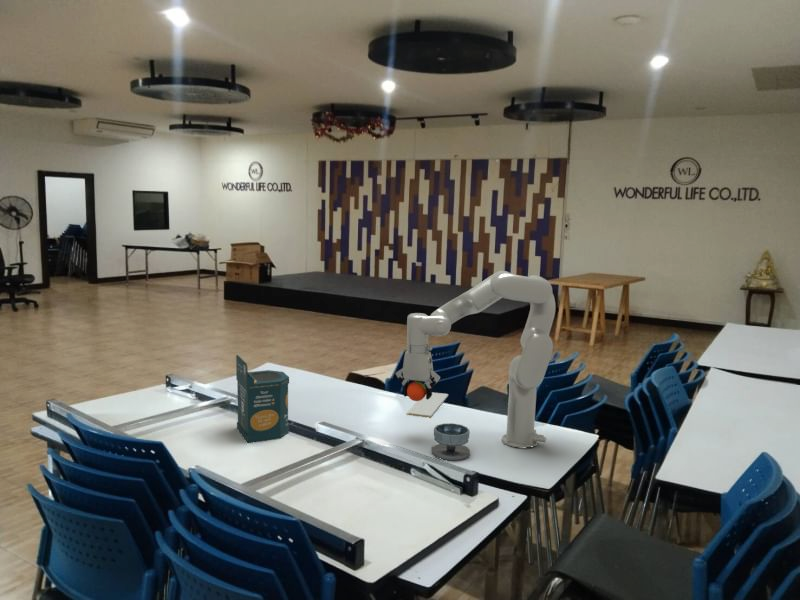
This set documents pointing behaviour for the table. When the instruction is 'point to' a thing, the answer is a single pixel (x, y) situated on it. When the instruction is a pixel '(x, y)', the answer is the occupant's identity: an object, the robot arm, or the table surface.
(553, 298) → the robot arm
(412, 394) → the clementine
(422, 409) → the baseboard molding
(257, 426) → the donation box
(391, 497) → the table surface
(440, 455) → the stand
